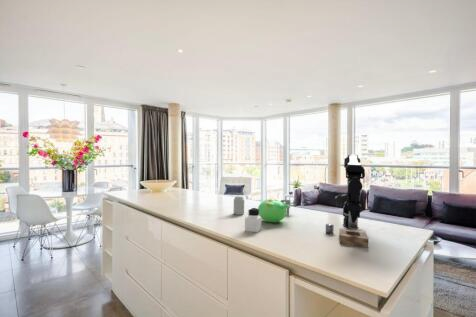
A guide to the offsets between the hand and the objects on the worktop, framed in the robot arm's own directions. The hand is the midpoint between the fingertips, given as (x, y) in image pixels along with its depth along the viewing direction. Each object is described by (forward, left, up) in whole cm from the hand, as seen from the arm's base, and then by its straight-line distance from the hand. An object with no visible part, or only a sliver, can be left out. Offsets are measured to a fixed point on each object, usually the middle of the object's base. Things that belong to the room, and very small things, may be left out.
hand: (353, 221), depth 118 cm
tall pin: (0, 0, -3) cm, 3 cm away
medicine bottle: (+47, -18, -10) cm, 51 cm away
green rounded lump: (+33, -35, -10) cm, 49 cm away
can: (+53, -55, -10) cm, 77 cm away
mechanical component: (+18, -55, -10) cm, 59 cm away
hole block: (0, 0, -10) cm, 10 cm away
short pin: (+6, -13, -10) cm, 17 cm away
